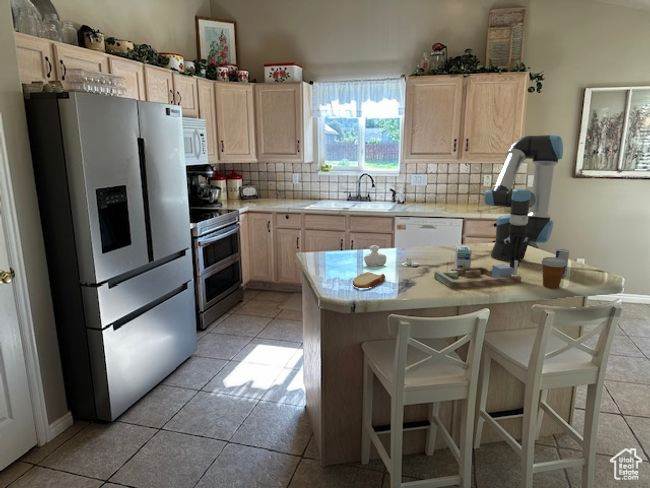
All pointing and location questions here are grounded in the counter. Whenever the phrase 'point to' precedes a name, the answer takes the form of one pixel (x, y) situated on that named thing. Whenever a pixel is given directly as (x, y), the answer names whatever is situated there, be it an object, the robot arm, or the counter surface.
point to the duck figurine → (375, 257)
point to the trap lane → (472, 272)
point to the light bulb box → (463, 257)
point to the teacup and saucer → (410, 262)
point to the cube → (501, 271)
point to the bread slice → (368, 280)
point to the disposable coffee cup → (552, 271)
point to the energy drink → (563, 255)
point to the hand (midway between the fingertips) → (513, 274)
